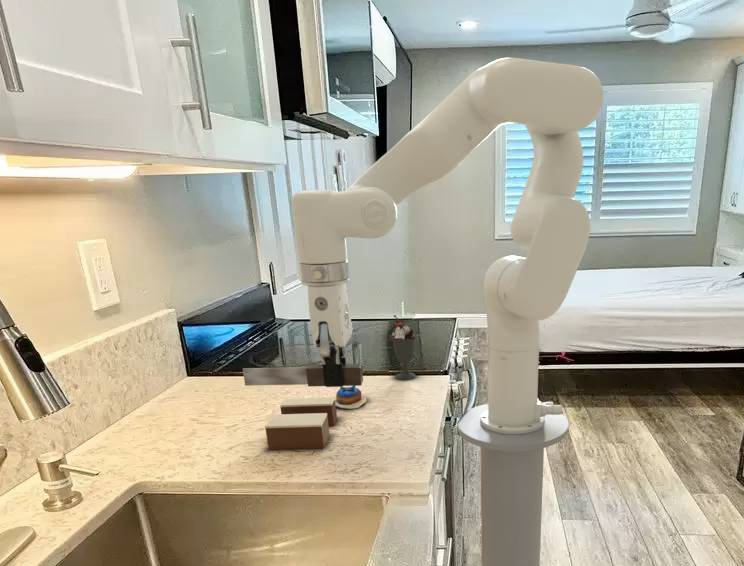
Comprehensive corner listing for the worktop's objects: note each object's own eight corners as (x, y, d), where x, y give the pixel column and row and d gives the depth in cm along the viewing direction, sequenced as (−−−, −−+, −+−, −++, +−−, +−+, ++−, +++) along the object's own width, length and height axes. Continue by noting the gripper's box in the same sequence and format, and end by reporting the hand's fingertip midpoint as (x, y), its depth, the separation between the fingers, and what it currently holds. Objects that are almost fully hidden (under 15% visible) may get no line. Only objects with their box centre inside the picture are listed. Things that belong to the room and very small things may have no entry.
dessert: (356, 408, 118) (340, 384, 118) (335, 422, 121) (320, 399, 121) (375, 398, 125) (360, 375, 125) (355, 411, 128) (340, 389, 128)
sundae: (391, 373, 142) (387, 313, 136) (418, 371, 142) (415, 311, 137) (391, 381, 136) (387, 319, 130) (419, 379, 136) (416, 317, 130)
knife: (363, 381, 98) (361, 363, 97) (361, 385, 96) (359, 367, 95) (247, 383, 98) (245, 365, 97) (243, 387, 96) (240, 369, 95)
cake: (329, 435, 108) (327, 412, 106) (324, 448, 102) (321, 424, 101) (277, 436, 108) (273, 414, 106) (268, 449, 103) (264, 426, 101)
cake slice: (337, 418, 115) (334, 397, 114) (334, 425, 112) (331, 403, 110) (287, 420, 115) (284, 398, 114) (283, 426, 112) (280, 405, 110)
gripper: (339, 280, 83) (350, 399, 90) (356, 265, 98) (365, 368, 104) (287, 282, 83) (303, 400, 90) (312, 266, 98) (324, 369, 105)
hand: (336, 382), depth 97 cm, fingers closed on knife, 2 cm apart
